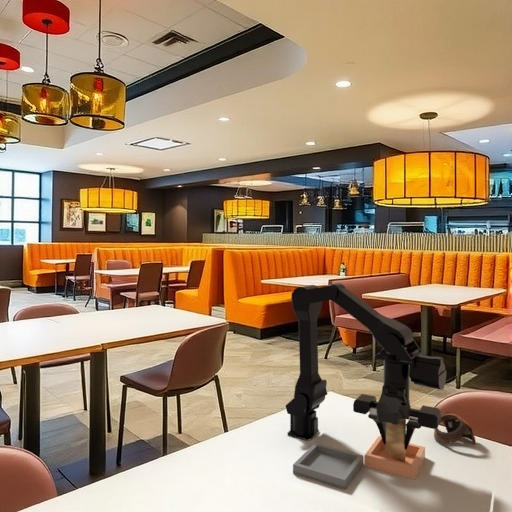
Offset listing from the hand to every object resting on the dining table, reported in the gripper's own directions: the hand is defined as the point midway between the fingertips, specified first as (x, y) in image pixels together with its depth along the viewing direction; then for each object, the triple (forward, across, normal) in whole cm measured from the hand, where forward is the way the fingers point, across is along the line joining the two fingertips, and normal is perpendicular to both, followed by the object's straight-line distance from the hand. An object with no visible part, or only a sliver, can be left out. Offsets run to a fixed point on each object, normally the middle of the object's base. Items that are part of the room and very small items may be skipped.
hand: (395, 446), depth 103 cm
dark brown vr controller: (+4, +10, +19) cm, 22 cm away
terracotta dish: (+4, 0, 0) cm, 4 cm away
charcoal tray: (+4, -12, -11) cm, 17 cm away
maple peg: (+4, 0, 0) cm, 4 cm away
